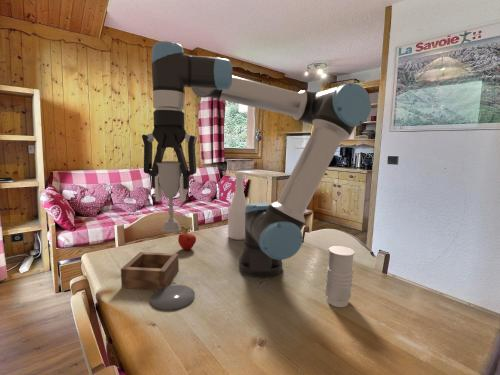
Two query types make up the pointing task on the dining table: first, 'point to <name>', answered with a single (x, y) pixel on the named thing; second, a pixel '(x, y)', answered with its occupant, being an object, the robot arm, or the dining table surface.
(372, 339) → the dining table surface
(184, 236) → the apple
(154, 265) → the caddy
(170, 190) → the chalice
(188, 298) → the coaster
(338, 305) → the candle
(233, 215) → the wine bottle
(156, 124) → the robot arm
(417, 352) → the dining table surface
